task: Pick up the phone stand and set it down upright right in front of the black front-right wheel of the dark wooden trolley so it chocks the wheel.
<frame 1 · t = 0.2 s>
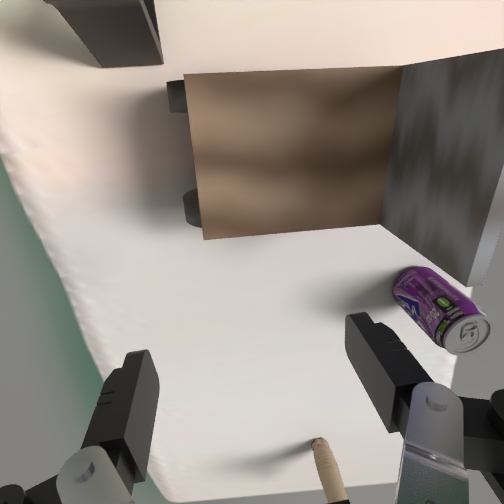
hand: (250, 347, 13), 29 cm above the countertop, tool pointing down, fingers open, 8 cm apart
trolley: (278, 144, 37), on the countertop
beverage can: (411, 283, 49), on the countertop
handle: (318, 441, 64), on the countertop
phone stand: (124, 12, 30), on the countertop
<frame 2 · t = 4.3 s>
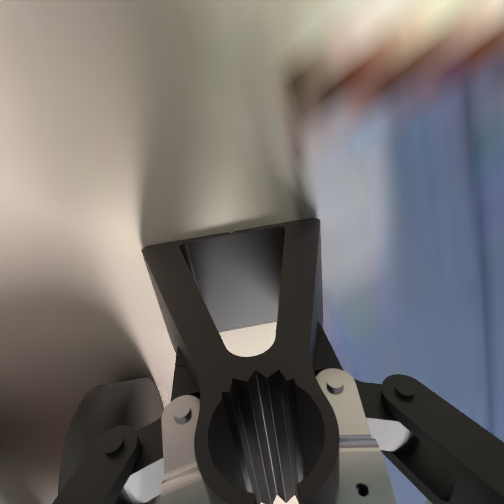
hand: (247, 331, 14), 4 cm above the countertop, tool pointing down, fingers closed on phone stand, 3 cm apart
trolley: (92, 478, 23), on the countertop
phone stand: (239, 278, 17), on the countertop, touching gripper
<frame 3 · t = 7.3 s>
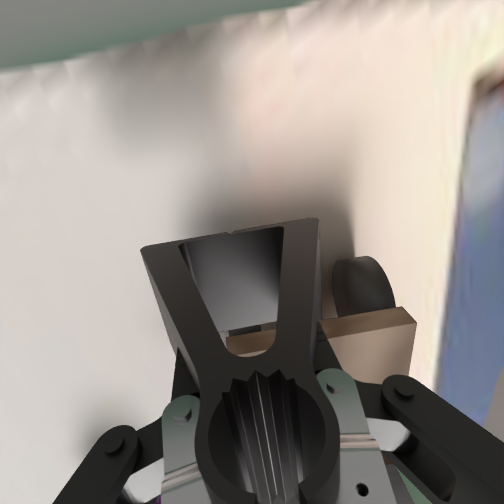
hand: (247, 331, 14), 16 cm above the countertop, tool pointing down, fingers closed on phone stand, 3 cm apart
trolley: (295, 341, 36), on the countertop
phone stand: (238, 278, 17), point 12 cm above the countertop, touching gripper
when the fingers open (5 cm above the countertop, at t = 10.2 s): phone stand stays where it is, on the countertop.
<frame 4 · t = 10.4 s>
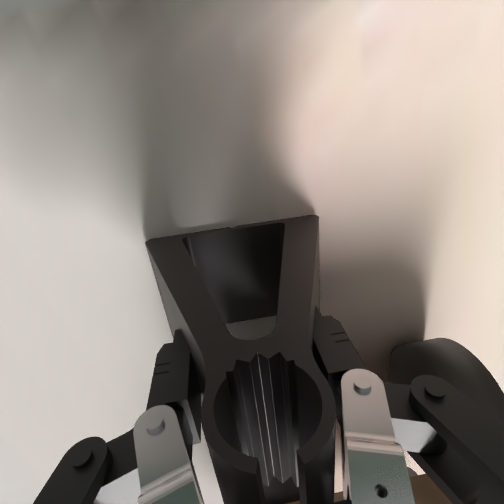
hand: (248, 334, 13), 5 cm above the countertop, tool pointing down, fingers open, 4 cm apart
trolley: (331, 437, 26), on the countertop
phone stand: (239, 273, 18), on the countertop
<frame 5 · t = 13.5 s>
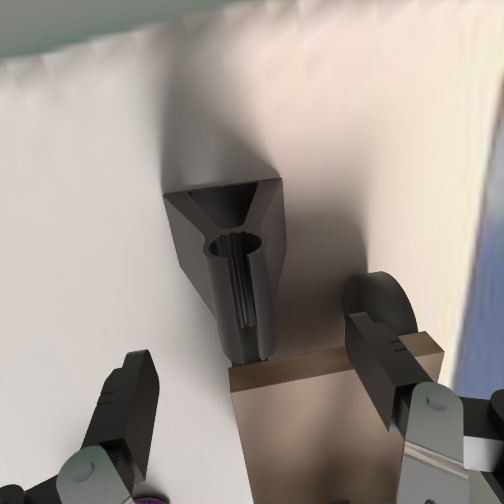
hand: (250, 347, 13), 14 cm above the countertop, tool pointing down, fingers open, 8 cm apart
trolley: (302, 361, 33), on the countertop
phone stand: (228, 221, 25), on the countertop
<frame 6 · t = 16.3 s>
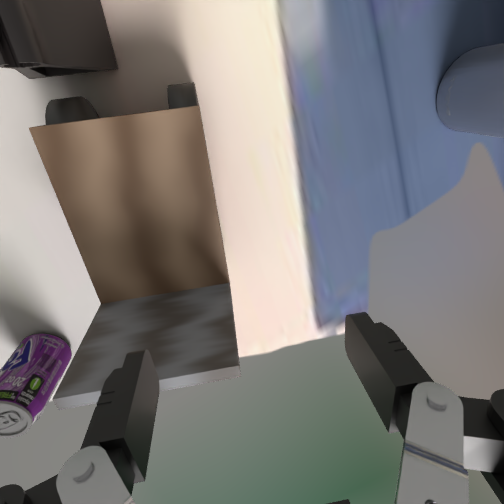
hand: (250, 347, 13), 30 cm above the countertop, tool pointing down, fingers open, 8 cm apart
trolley: (159, 193, 39), on the countertop
beverage can: (48, 347, 48), on the countertop
phone stand: (65, 40, 32), on the countertop
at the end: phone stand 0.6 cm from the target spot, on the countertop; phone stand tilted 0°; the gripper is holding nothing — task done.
